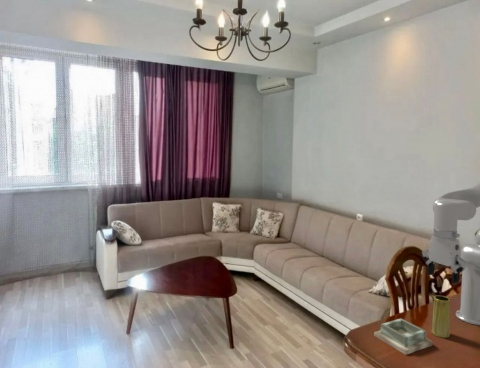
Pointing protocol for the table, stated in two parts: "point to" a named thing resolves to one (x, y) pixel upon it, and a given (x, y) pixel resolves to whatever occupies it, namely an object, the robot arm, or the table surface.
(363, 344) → the table surface
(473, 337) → the table surface
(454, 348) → the table surface
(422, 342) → the vase stand
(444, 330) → the vase
